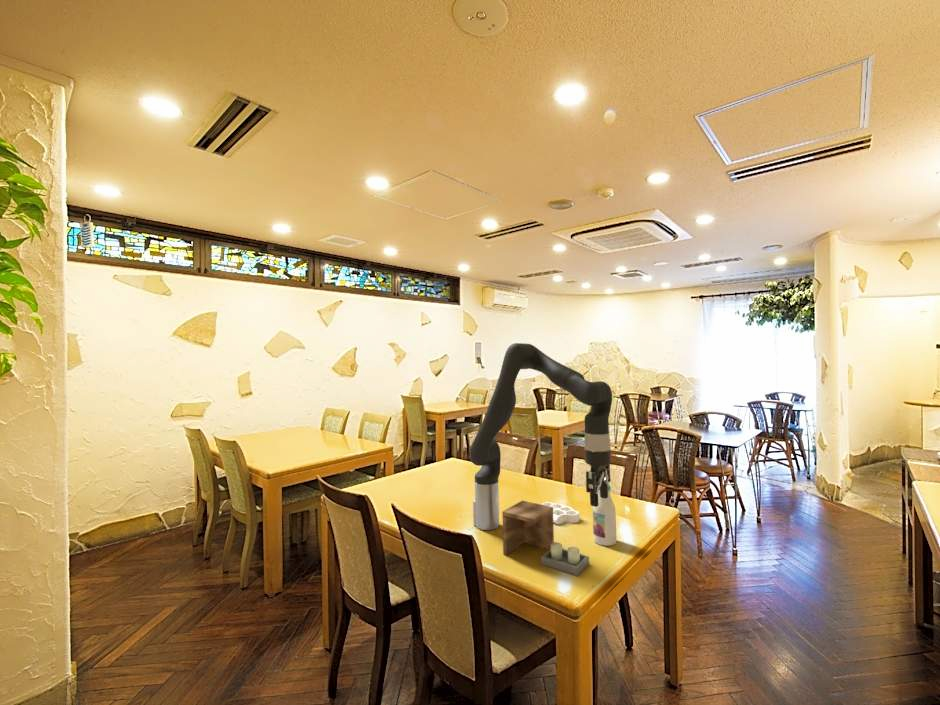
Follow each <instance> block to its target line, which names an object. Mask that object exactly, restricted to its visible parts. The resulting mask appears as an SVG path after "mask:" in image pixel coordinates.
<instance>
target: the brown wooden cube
mask: <svg viewBox="0 0 940 705" xmlns="http://www.w3.org/2000/svg"><path fill="white" fill-rule="evenodd" d="M541 504H542V503H540V504H539V503H535V502H532V501H528V500H527V501H526V500H521V501H519V502H517V503H515V504H514V505H512V506H510V507H508V508H507V509H505V510H502V547H503V548H502V553H503V555H504V556H508V555H509V554H511V553H512V552H513V551H515V550H516V549H518V548H519V547H520V546H522V545H523V544H528V545H532V546H534V547H535V546H536V547H539V548H542V549H545V550H548V551H549V550H550V549H551V543H553V542H555V539H554V538H555V537H554V535H555V533H554V523H553V507H550V506H545V505H541Z"/></svg>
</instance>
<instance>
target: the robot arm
mask: <svg viewBox="0 0 940 705" xmlns="http://www.w3.org/2000/svg"><path fill="white" fill-rule="evenodd" d="M528 369H530V370H535V371H536V372H537V371H538V372H540V373H541V374H544V376H545V377H546V378H548V379H549V381H550V382H551V383H553V385H555V386H557V387H558V388H561V389H562V390H563V391H566V392H568V393H570V395H571V396H573V397H574V398H575V399H576V400H577V401H578V402H580V403H581V404H583V405H585V406H589V407H590V410H589V412H587V413H586V414H585V416H584V438H583V439H584V440H583V441H584V459H585V460H584V462H585V464H586V465H589V466H590V469H589V471H586V472H585V477H586V478H585V482H586V483H585V486H586V488H585V489H586V490H585V491H586V493H589V498H590V499H589V500H590V506H592V507H593V506H595V507H597V506H598V505H599V503H598V490H599V487H600V497H601V498H608V485H610V482H611V480H612V479H611V463H612V456H611V454H612V453H611V450H612V449H611V438H610V424H609V418H610V414H611V410H612V409H611V408H612V405H613V404H612V402H613V392H612V388H611V386H610V385H609V384H608V383H607V382H606V381H589V380H586V379H585V376H584V375H583V374H582V373H580V372H579V371H576V370H574V369H572V368H571V367H569V366H567V365H564V364H562V363H560V362H558V361H556V360H555V359H553V358H551V357H550V356H548V355H547V354H545V353H544V352H543V351H542V350H540V349H539V348H538V347H536V346H534V345H533V344H531V343H522V342H521V343H518V342H517V343H516V342H515V343H512V344H510V345H509V346H508V348H506V351H505V354H504V356H503V361H502V365H501V369H500V373H499V376H498V379H497V383H496V385H495V387H494V391H493V393H492V395H491V398H490V400H489V402H488V403H489V404H488V406H487V410H486V412H485V415H484V418H483V419H482V422H481V425H480V427H479V428H478V432H477V434H476V435H475V437H474V439H473V441H472V443H471V446H470V447H469V448H470V450H469V459H470V461H471V463H472V464H473V465H475V466H478V467H479V466H480V469H479V470H478V471H477V472H476V473H475V474H474V500H473V501H472V511H473V513H472V516H473V526H475V527H476V528H477V529H479V530H483V531H492V530H493V531H494V530H496V529H498V528H499V527H500V501H499V500H500V495H499V493H500V492H499V489H500V488H499V478H500V475H501V474H500V473H501V459H502V458H501V448H500V445H499V443H498V442H497V441H496V440H495V438H496V436H497V435H498V433H499V432H501V430H502V429H503V428H504V427H505V426H506V425H507V424H508V422H509V421H510V418H512V414H513V412H514V409H515V407H516V404H517V396H516V389H515V385H516V384H515V382H516V379H517V377H518V375H519V372H520V370H528Z"/></svg>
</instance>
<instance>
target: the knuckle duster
mask: <svg viewBox="0 0 940 705" xmlns="http://www.w3.org/2000/svg"><path fill="white" fill-rule="evenodd" d="M540 504H541V505H545V506H550V507H553V524H556V525H561V524H564V523H569V524H570V523H571V524H576V523H578V522H580V512H579V511H578V510H575V509H573V508H572V507H571V506H567V505H564V504H562V503H561V504H560V503H556V502H555V503H553V502H551V501H545V502H542V503H540Z"/></svg>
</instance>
